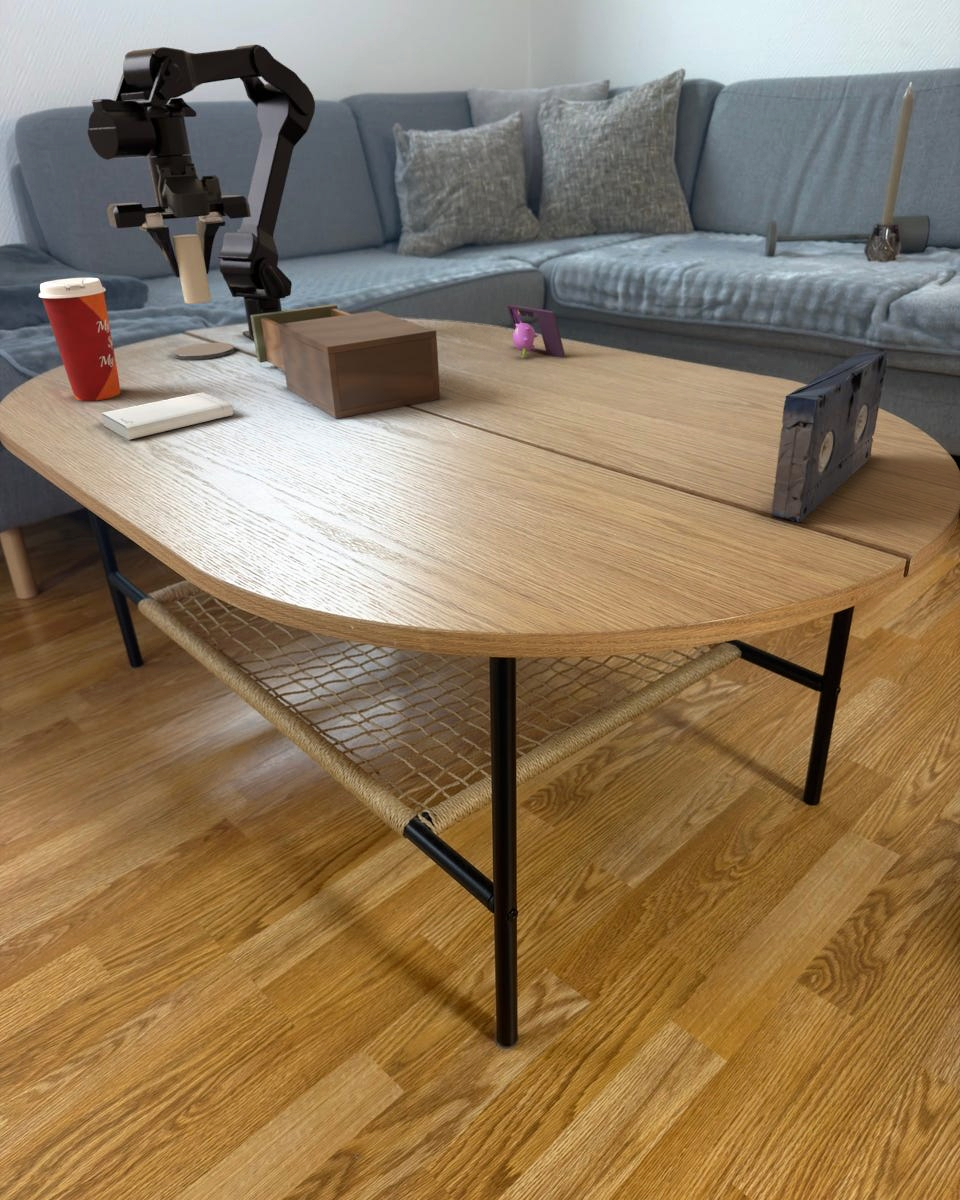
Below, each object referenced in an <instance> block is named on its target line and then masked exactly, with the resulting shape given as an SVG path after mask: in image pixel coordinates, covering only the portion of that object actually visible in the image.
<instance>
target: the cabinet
mask: <svg viewBox="0 0 960 1200" xmlns="http://www.w3.org/2000/svg"><path fill="white" fill-rule="evenodd" d="M278 327H279V335H280V342H281V349H282V356H283V363H284V370H285V371H284V375H285V383H286V389H287V390H288V391H290V392H292V393H293V394H296V396H298V397H300V398H302V399H303V400H305V401H307V403H310V404H311V405H313V406H314V407H316V408H318V409H320V410H322V412H324V413H326V414H327V415H329V416H330V417H332V418H334V419H336V420H337V419H341V418H342V419H343V418H346V417H352V416H358V415H362V414H369V413H373V412H379V411H383V410H389V409H394V408H399V407H404V406H410V405H415V404H421V403H425V402H430V401H436V400H441V389H440V388H441V387H440V371H439V355H438V339H437V330H436V329H433V328H430V327H426V326H424V325H421V324H418V323H415V322H412V321H409V320H406V319H403V318H400V317H398V316H395V315H391V314H388V313H385V312H382V311H380V310H373V311H364V312H358V313H350V314H349V315H342V316H335V317H328V318H320V319H313V320H306V321H298V322H291V323H284V324H278Z"/></svg>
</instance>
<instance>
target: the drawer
mask: <svg viewBox="0 0 960 1200" xmlns="http://www.w3.org/2000/svg"><path fill="white" fill-rule="evenodd" d="M349 314H351V313H349V312H347V311H344V310H340V309H339V308H338V305H337V304H325V305H318V306H309V307H303V308H294V309H286V310H282V311H279V312H271V313H263V314H256V315H251V323H252V329H253V335H254V340H253V342H254V348H255V354H256V360H257V362H258V363H268V364H269V363H270V364H271V365H273V366H275V367H277V368H278V369H280V370H281V371H283V372H285V370H284V363H283V356H282V349H281V342H280V335H279V327H278V324H284V323H291V322H298V321H306V320H313V319H320V318H328V317H335V316H342V315H349Z"/></svg>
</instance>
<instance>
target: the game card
mask: <svg viewBox="0 0 960 1200" xmlns="http://www.w3.org/2000/svg"><path fill="white" fill-rule="evenodd" d="M507 310H508V314H509V318H510V320H511V321H510V322H511V324H512V328H513V333H512V341H513V345H514V347H515V348H516V349H517V350H518V351H520V352H522V353H521V355H522V356H521V358H522V359H526V356H527V352H536V353H541V354H547V355H550V356H556V357H561V358H563V357H565V356H566V353H565V349H564V345H563V340H562V336H561V333H560V328H559V326H558V325H559V324H558V321H557V316H556V313H555V311H553V310H549V309H548V310H547V309H540V308H534V307H528V306H522V305H515V304H509V305H507ZM520 315H521V316H522V317H527V316H528V318H534V315H536V319H537V323H538V326H539V330H540V334H541V337H542V342H543V345H544V349H541V348H537V347H536V345H535V344H534V341H535V338H537V337H538V336H539V335H538V334H536V331H535V329H534V327H533V326H532V325H530V324H529V323H528V322H527V321H522V319H521V318H520Z"/></svg>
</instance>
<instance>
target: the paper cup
mask: <svg viewBox="0 0 960 1200" xmlns="http://www.w3.org/2000/svg"><path fill="white" fill-rule="evenodd" d="M39 289H40V291H39V293H38V298H41V299H42V301H43V306H44V308H45V311H46V314H47V317H48V320H49V324H50V327H51V330H52V333H53V336H54V340H55V343H56V345H57V348H58V351H59V354H60V357H61V360H62V363H63V367H64V370H65V373H66V375H67V378H68V383H69V385H70V387H71V390H72V393H73V396H74V398H75V400H77V401H79V402H80V401H82V402H93V401H94V402H95V401H102V400H108V399H112V398H114V397H117V396H119V395H120V394H121V385H120V379H119V373H118V372H119V371H118V366H117V361H116V355H115V349H114V343H113V337H112V331H111V326H110V320H109V316H108V315H109V314H108V309H107V304H106V303H107V302H106V297H105V292H106V291H107V289H106V288H105V287H104V286H103V284H102V282H101V280H100V278H97V277H71V278H62V279H61V278H60V279H54V280H49V281H45V282H42V283H40V285H39Z"/></svg>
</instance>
